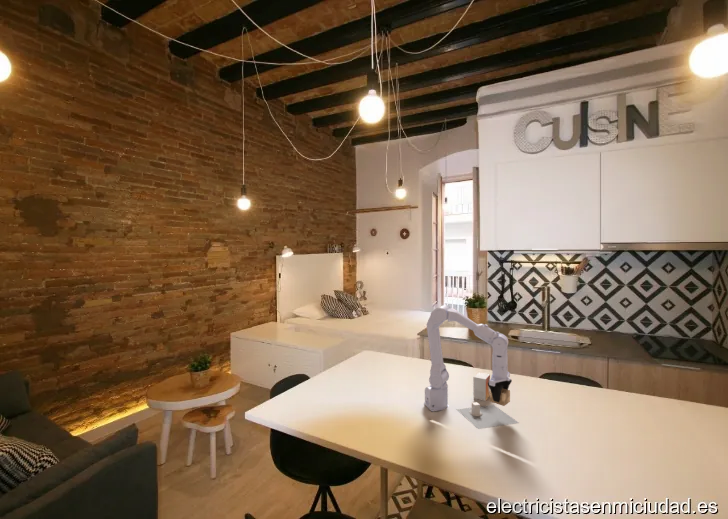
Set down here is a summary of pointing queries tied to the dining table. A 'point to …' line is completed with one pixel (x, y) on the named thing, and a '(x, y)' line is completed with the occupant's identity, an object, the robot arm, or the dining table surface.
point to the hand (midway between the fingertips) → (499, 398)
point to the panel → (486, 416)
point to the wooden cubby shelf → (502, 397)
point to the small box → (481, 386)
